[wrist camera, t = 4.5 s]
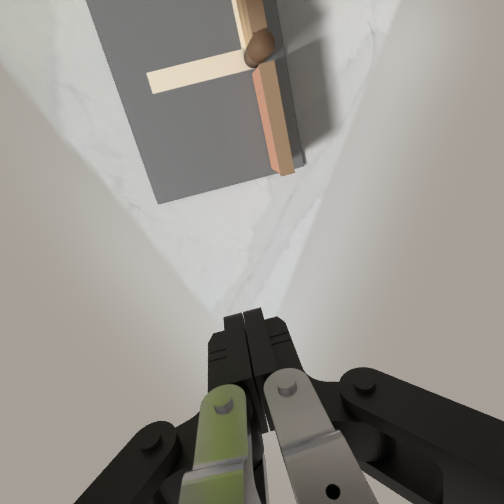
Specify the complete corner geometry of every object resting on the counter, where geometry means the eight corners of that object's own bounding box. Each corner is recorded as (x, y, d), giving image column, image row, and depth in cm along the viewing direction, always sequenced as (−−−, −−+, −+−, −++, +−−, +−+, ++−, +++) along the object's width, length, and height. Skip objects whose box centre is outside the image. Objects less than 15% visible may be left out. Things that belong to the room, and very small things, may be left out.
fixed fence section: (222, -40, 28) (226, -80, 23) (243, -45, 28) (252, -86, 23) (246, 70, 31) (254, 58, 26) (264, 65, 31) (277, 53, 26)
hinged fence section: (250, 74, 31) (259, 63, 26) (263, 70, 31) (274, 60, 26) (270, 168, 35) (281, 176, 29) (281, 165, 35) (294, 172, 29)
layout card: (72, -39, 27) (70, -42, 27) (260, -84, 28) (260, -87, 27) (158, 203, 35) (157, 204, 35) (302, 165, 36) (304, 166, 35)
